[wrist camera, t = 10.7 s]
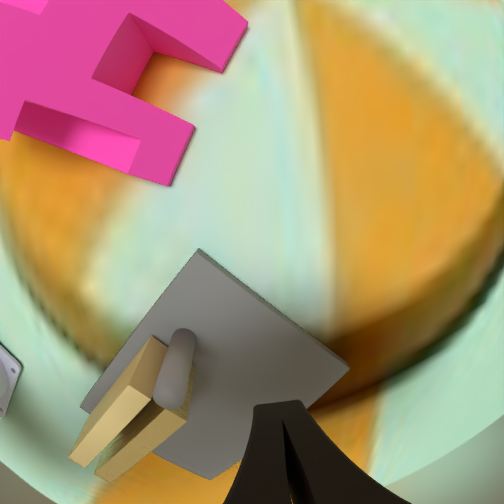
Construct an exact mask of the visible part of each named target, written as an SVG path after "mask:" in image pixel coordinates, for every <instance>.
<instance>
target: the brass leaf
mask: <svg viewBox="0 0 504 504" xmlns="http://www.w3.org/2000/svg"><path fill="white" fill-rule="evenodd" d="M195 369H196V367H195V366H194V365H191V370H190V375H189V380H188V386H187V391H186V396H185V402H184V404H183V406H181V407H180V408H178V409H173V410H170V409H165V408H163V407H161V406H159V405H158V404H157V403H156V402H155V401H154V399H153V395H152V398H151V400H150V401H149V402H148V403H147V404H146V405H145V406H144V407H143V408H142V409H141V410H140V412H139V413H138V414H137V415H136V416H135V417H134V418H133V419H132V420H131V421H130V422H129V423H128V424H127V425H126V426H125V427H124V428H123V429H122V430H121V431H120V432H119V433H118V435H117V436H116V437H115V438H114V439H113V440H112V441H111V442H110V443H109V444H108V445H107V446H106V447H105V448H104V450H103V452H102V455H101V457H100V460H99V462H98V465H97V468H96V470H95V473H94V474H95V475H97V476H99V477H101V478H102V479H104V480H106V481H108V482H110V483H111V482H112V481H114V480H115V479H117V478H118V477H119V476H120V475H122V474H123V473H124V472H126V471H127V470H128V469H130V468H131V467H132V466H133V465H135V464H136V463H137V462H139V461H140V460H141V459H142V458H144V457H145V456H146V455H147V454H149V453H150V452H151V451H152V450H154V449H155V448H156V447H157V446H158V445H160V444H161V443H162V442H163V441H164V440H166V439H167V438H168V437H169V436H170V435H172V434H173V433H174V432H175V431H176V430H178V429H179V428H180V427H181V426H182V425H183V424H185V423H186V422H187V418H188V412H189V405H190V399H191V393H192V387H193V381H194V375H195Z"/></svg>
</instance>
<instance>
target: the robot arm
mask: <svg viewBox="0 0 504 504" xmlns="http://www.w3.org/2000/svg"><path fill="white" fill-rule="evenodd" d="M20 371H21V365H20V363H19V362H18V361H17V360H16V359H15V358H14V357H12V356H11V355H10V354H9V353H8V352H7V351H6V350H5V349H4V348H3V347H2V346H1V345H0V417H2V418H3V417H4V416H5V414H6V411H7V408H8V405H9V402H10V399H11V396H12V393H13V390H14V387H15V385H16V382H17V379H18V377H19V374H20ZM291 499H292V501H291ZM292 502H293V504H411V503H410V502H408V501H406V500H404V499H402V498H400V497H399V496H397V495H396V494H394V493H392V492H391V491H389V490H388V489H386V488H385V487H383V486H382V485H381V484H379V483H378V482H377V481H375V480H374V479H372V478H371V477H370V476H369V475H367V474H366V473H365V472H364V471H363V470H361V469H360V468H359V467H358V466H357V465H356V464H355V463H354V462H352V461H351V460H350V459H349V458H348V457H347V456H346V455H345V454H344V453H343V452H342V451H341V450H340V449H339V448H338V447H337V446H336V445H335V444H334V443H333V441H332V440H331V439H330V438H329V437H328V436H327V435H326V434H325V433H324V431H323V430H322V429H321V428H320V426H319V425H318V424H317V423H316V421H315V420H314V419H313V417H312V416H311V415H310V413H309V412H308V410H307V409H306V407H305V406H304V404H303V403H302V401H300V400H299V399H297V400H290V401H283V402H275V403H266V404H257V405H256V406H254V407H253V420H252V426H251V431H250V436H249V440H248V443H247V446H246V450H245V453H244V456H243V459H242V462H241V465H240V467H239V470H238V472H237V475H236V477H235V480H234V482H233V484H232V487H231V489H230V491H229V493H228V495H227V497H226V499H225V501H224V503H223V504H292Z"/></svg>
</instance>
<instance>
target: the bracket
mask: <svg viewBox="0 0 504 504" xmlns="http://www.w3.org/2000/svg"><path fill="white" fill-rule="evenodd" d="M247 27H248V21H247V20H246V19H244V18H243V17H242V16H241V15H240V14H239V13H237V12H236V11H235V10H234V9H233V8H231V7H230V6H229V5H228V4H227V3H225V2H224V1H223V0H0V139H3V140H7V141H10V139H11V136H12V133H13V130H14V131H17V132H20V133H22V134H25V135H28V136H31V137H33V138H36V139H39V140H41V141H44V142H47V143H49V144H52V145H55V146H57V147H60V148H63V149H65V150H68V151H70V152H73V153H76V154H78V155H81V156H83V157H86V158H89V159H91V160H94V161H96V162H99V163H101V164H104V165H107V166H109V167H112V168H114V169H117V170H119V171H122V172H124V173H127V174H130V175H133V176H136V177H140V178H143V179H146V180H150V181H153V182H156V183H159V184H162V185H166V186H170V184H171V181H172V179H173V177H174V174H175V172H176V169H177V167H178V165H179V162H180V160H181V158H182V155H183V153H184V151H185V149H186V146H187V144H188V142H189V140H190V137H191V135H192V133H193V131H194V129H195V126H194V125H193V124H191V123H189V122H187V121H184V120H182V119H180V118H178V117H176V116H174V115H172V114H170V113H168V112H166V111H164V110H162V109H160V108H158V107H155V106H153V105H151V104H149V103H147V102H145V101H142V100H140V99H138V98H136V97H133V96H131V94H132V92H133V90H134V88H135V86H136V84H137V82H138V80H139V78H140V76H141V74H142V73H143V71H144V69H145V67H146V65H147V63H148V61H149V60H150V58H151V56H152V54H153V52H157V53H160V54H164V55H167V56H171V57H174V58H177V59H181V60H184V61H187V62H190V63H193V64H196V65H199V66H202V67H205V68H208V69H211V70H214V71H217V72H219V73H222V72H223V70H224V68H225V66H226V64H227V63H228V61H229V59H230V57H231V55H232V53H233V52H234V50H235V48H236V46H237V45H238V43H239V41H240V39H241V37H242V36H243V34H244V32H245V31H246V29H247Z"/></svg>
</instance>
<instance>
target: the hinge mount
mask: <svg viewBox="0 0 504 504" xmlns="http://www.w3.org/2000/svg"><path fill="white" fill-rule="evenodd" d="M191 365H194V366H195V367H196V369H195V375H194V381H193V387H192V393H191V399H190V405H189V412H188V418H187V422H186V423H185V424H183V425H182V426H181V427H180V428H179V429H178V430H176V431H175V432H174V433H173V434H172V435H170V436H169V437H168V438H167V439H166V440H164V441H163V442H162V443H161V444H160V445H158V446H157V447H156V448H155V449H154V450H152V451H151V452H152V453H154V454H156V455H158V456H160V457H162V458H163V459H165V460H167V461H169V462H171V463H173V464H175V465H178V466H180V467H182V468H184V469H186V470H188V471H190V472H193V473H195V474H197V475H199V476H202V477H204V478H206V479H209V480H211V479H213V478H215V477H216V476H218V475H219V474H221V473H222V472H224V471H225V470H227V469H228V468H230V467H231V466H233V465H234V464H236V463H237V462H238V461H240V460H241V459H243V456H244V453H245V450H246V446H247V443H248V440H249V436H250V431H251V426H252V420H253V407H254V406H256V405H257V404H266V403H275V402H283V401H290V400H297V399H299V400H300V401H302V403H303V404H304V406H305V407H306V409H307V408H308V407H309V406H310V405H312V404H313V403H314V402H315V401H316V400H317V399H318V398H320V397H321V396H322V395H323V394H324V393H325V392H326V391H327V390H328V389H330V388H331V387H332V386H333V385H334V384H335V383H336V382H337V381H338V380H339V379H340V378H341V377H342V376H343V375H344V374H346V373H347V372H348V371H349V370H350V368H349V366H348V364H347V363H346V361H345V360H344V359H342V358H341V357H340V356H338V355H337V354H335V353H334V352H333V351H331V350H330V349H329V348H327V347H326V346H325V345H323V344H322V343H321V342H319V341H318V340H317V339H315V338H314V337H313V336H311V335H310V334H309V333H307V332H306V331H305V330H303V329H302V328H301V327H299V326H298V325H297V324H295V323H294V322H293V321H291V320H290V319H289V318H287V317H286V316H285V315H283V314H282V313H281V312H280V311H278V310H277V309H276V308H274V307H273V306H272V305H270V304H269V303H268V302H267V301H265V300H264V299H263V298H261V297H260V296H259V295H257V294H256V293H255V292H254V291H252V290H251V289H250V288H248V287H247V286H246V285H245V284H243V283H242V282H241V281H240V280H238V279H237V278H236V277H234V276H233V275H232V274H231V273H229V272H228V271H227V270H226V269H224V268H223V267H222V266H220V265H219V264H218V263H217V262H215V261H214V260H213V259H212V258H210V257H209V256H208V255H207V254H205V253H204V252H203V251H202V250H200V249H199V248H198V249H197V251H196V252H195V253H194V254H193V256H192V257H191V258H190V259H189V261H188V262H187V263H186V264H185V266H184V267H183V268H182V269H181V271H180V272H179V273H178V274H177V276H176V277H175V278H174V279H173V281H172V282H171V283H170V285H169V286H168V287H167V288H166V290H165V291H164V292H163V293H162V295H161V296H160V297H159V299H158V300H157V301H156V302H155V304H154V305H153V306H152V308H151V309H150V310H149V312H148V313H147V314H146V315H145V317H144V318H143V319H142V321H141V322H140V323H139V325H138V326H137V327H136V329H135V330H134V331H133V333H132V334H131V335H130V337H129V338H128V339H127V341H126V342H125V343H124V345H123V346H122V347H121V349H120V350H119V351H118V353H117V354H116V355H115V357H114V358H113V360H112V361H111V362H110V364H109V365H108V366H107V368H106V369H105V371H104V372H103V373H102V375H101V376H100V378H99V379H98V380H97V382H96V383H95V384H94V386H93V387H92V389H91V390H90V392H89V393H88V394H87V396H86V397H85V399H84V400H83V402H82V404H81V405H80V408H82V409H83V410H84V411H86V412H87V413H89V414H90V416H89V418H88V419H87V421H86V423H85V425H84V427H83V429H82V431H81V433H80V435H79V437H78V439H77V441H76V443H75V445H74V447H73V449H72V451H71V453H70V455H69V457H68V458H70V459H71V460H73V461H74V462H76V463H77V464H79V465H81V466H82V467H84V468H85V467H86V466H87V465H88V464H89V463H90V462H91V461H92V460H93V459H94V458H95V457H96V456H97V455H98V454H99V453H100V452H101V451H102V450H103V449H104V448H105V447H106V446H107V445H108V444H109V443H110V442H111V441H112V440H113V439H114V438H115V437H116V436H117V435H118V433H119V432H120V431H121V430H122V429H123V428H124V427H125V426H126V425H127V424H128V423H129V422H130V421H131V420H132V419H133V418H134V417H135V416H136V415H137V414H138V413H139V412H140V410H141V409H142V408H143V407H144V406H145V405H146V404H147V403H148V402H149V401H150V400H151V398H152V395H153V399H154V401H155V402H156V403H157V404H158V405H159V406H161V407H163V408H165V409H170V410H173V409H178V408H180V407H181V406H183V404H184V402H185V396H186V391H187V386H188V380H189V375H190V370H191Z"/></svg>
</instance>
